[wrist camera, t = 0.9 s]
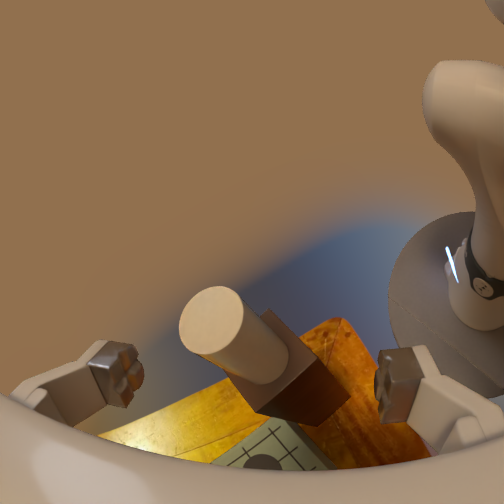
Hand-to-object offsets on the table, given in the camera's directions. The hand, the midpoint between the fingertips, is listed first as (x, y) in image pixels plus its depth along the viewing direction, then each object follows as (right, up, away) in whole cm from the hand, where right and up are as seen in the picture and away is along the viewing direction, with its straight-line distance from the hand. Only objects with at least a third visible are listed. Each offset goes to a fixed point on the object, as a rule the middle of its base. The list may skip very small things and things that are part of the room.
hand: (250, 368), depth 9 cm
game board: (+4, -30, +29) cm, 42 cm away
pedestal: (+11, -19, +34) cm, 40 cm away
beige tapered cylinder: (+1, -6, +16) cm, 17 cm away
